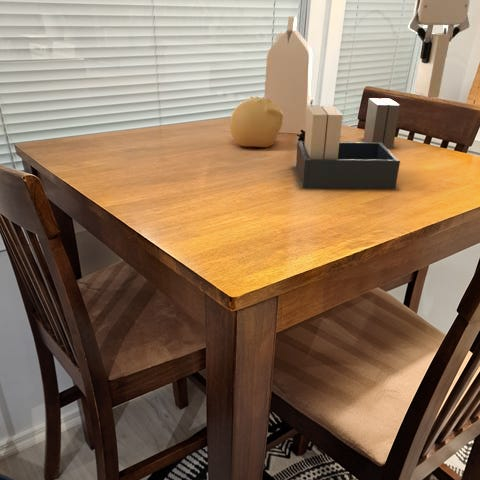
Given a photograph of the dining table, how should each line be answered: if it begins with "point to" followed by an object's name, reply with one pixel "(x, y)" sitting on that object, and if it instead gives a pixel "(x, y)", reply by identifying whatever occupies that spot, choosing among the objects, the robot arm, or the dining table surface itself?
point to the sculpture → (256, 122)
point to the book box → (350, 167)
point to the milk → (290, 77)
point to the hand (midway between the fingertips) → (432, 61)
